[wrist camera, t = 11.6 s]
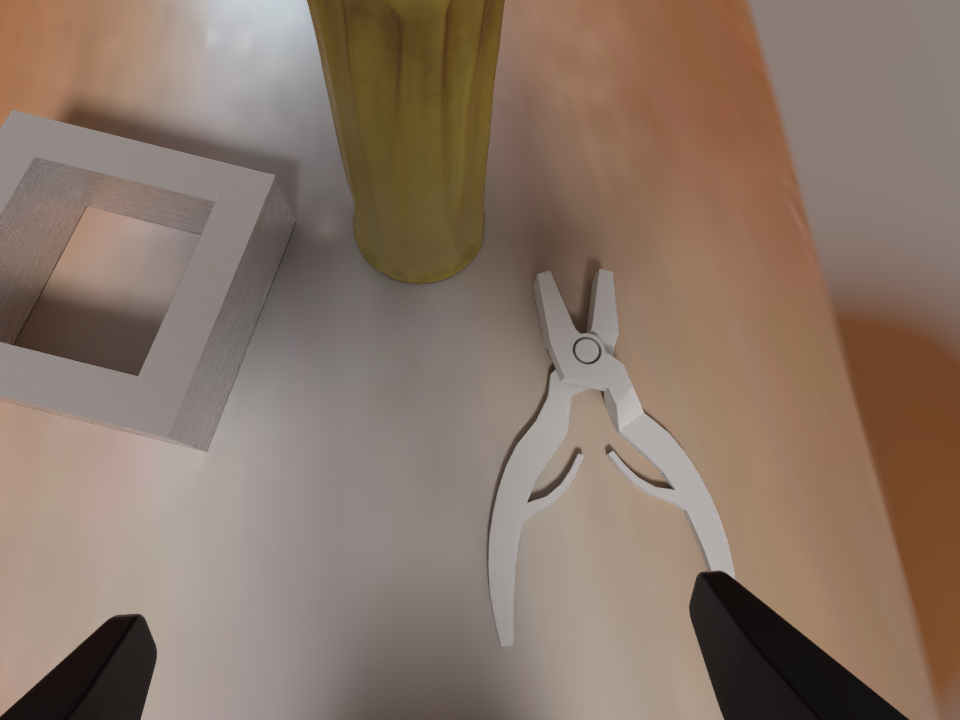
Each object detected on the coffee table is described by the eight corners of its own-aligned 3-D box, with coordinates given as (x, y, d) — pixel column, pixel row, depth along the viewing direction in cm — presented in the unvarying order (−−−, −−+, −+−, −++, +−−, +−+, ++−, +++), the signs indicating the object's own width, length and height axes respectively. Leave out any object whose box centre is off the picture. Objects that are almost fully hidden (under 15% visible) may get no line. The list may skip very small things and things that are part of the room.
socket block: (206, 452, 23) (166, 437, 20) (-58, 386, 23) (-142, 360, 20) (296, 221, 26) (275, 174, 23) (66, 163, 26) (12, 109, 23)
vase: (471, 164, 28) (506, -190, 14) (495, 276, 26) (560, -6, 13) (347, 178, 27) (257, -181, 14) (363, 294, 25) (278, 16, 12)
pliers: (497, 652, 20) (464, 273, 25) (493, 644, 22) (463, 289, 26) (756, 623, 21) (681, 264, 26) (735, 617, 23) (667, 279, 27)
